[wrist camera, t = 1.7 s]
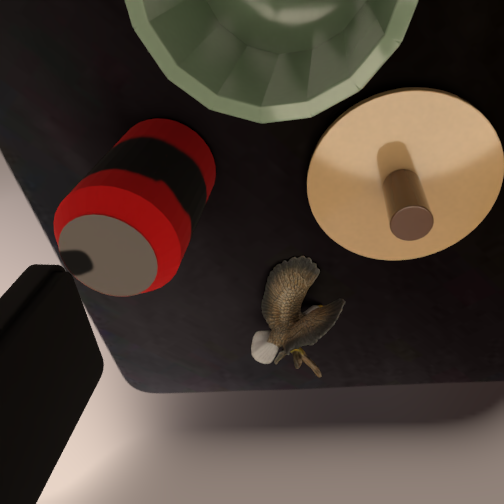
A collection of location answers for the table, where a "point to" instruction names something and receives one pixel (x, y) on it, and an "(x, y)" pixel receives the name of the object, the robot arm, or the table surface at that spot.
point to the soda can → (136, 209)
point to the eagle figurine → (292, 314)
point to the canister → (270, 50)
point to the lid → (405, 173)
